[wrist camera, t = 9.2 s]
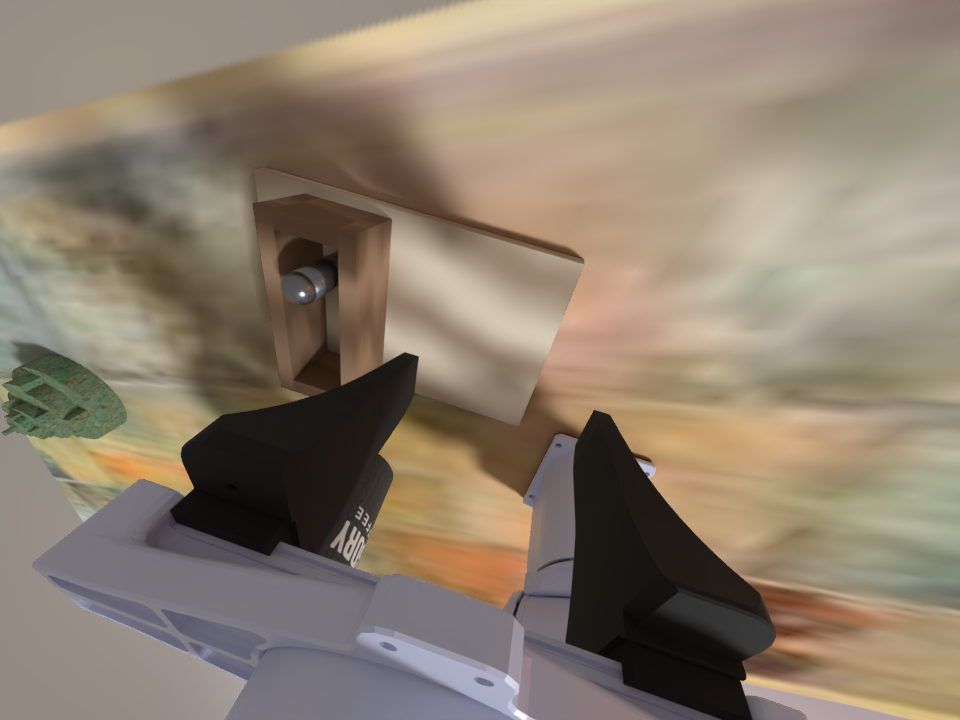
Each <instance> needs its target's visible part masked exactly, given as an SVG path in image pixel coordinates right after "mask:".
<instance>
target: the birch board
mask: <svg viewBox="0 0 960 720" xmlns="http://www.w3.org/2000/svg"><path fill="white" fill-rule="evenodd" d="M253 172H254V179H255V186H256V192H257V199H258V202H262V201H267V200H272V199H278V198H283V197H288V196H294V195H299V194H304V193H305V194H309V195H312V196H315V197H319V198H322V199H326V200H329V201H333V202H336V203H339V204H343V205H346V206H350V207H353V208H357V209H360V210H363V211H367V212H370V213H374V214H377V215H381V216H384V217H388V218H391V219H392V230H391V245H390V261H389V276H388V291H387V306H386V322H385V337H384V352H383V364H385V363H386V362H388V361H390V360H392V359H393V358H395V357H397V356H399V355H400V354H402V353H404V352H406V353H409V354H413V355H416V356H419V360H418V368H417V376H416V384H415V392H414V393H416V394H419V395H422V396H425V397H428V398H432V399H435V400H438V401H441V402H444V403H447V404H450V405H453V406H456V407H459V408H462V409H465V410H468V411H472V412H475V413H478V414H481V415H484V416H487V417H490V418H493V419H496V420H499V421H502V422H505V423H508V424H512V425H515V426H518V427H519V425H520V422H521V420H522V417H523V415H524V412H525V410H526V407H527V405H528V402H529V400H530V398H531V395H532V393H533V390H534V388H535V385H536V383H537V380H538V378H539V375H540V373H541V370H542V368H543V365H544V363H545V361H546V358H547V356H548V353H549V351H550V348H551V346H552V343H553V341H554V338H555V336H556V333H557V331H558V329H559V326H560V324H561V321H562V319H563V316H564V314H565V311H566V309H567V306H568V304H569V301H570V299H571V297H572V294H573V292H574V289H575V287H576V284H577V282H578V279H579V277H580V274H581V272H582V269H583V267H584V259H581V258H577V257H574V256H570V255H567V254H563V253H560V252H557V251H553V250H550V249H546V248H543V247H539V246H536V245H532V244H529V243H525V242H522V241H519V240H515V239H512V238H508V237H505V236H501V235H498V234H494V233H491V232H488V231H484V230H481V229H477V228H474V227H470V226H467V225H463V224H460V223H456V222H453V221H450V220H446V219H443V218H439V217H436V216H432V215H429V214H425V213H422V212H419V211H415V210H412V209H408V208H405V207H401V206H398V205H394V204H391V203H388V202H384V201H381V200H377V199H374V198H370V197H367V196H363V195H360V194H356V193H353V192H350V191H346V190H343V189H339V188H336V187H332V186H329V185H325V184H322V183H319V182H315V181H312V180H308V179H305V178H301V177H298V176H294V175H291V174H287V173H284V172H281V171H277V170H274V169H270V168H267V167H261V168H253ZM337 250H338V249H337V248H334V247H331V246H327V245H324V244H323V257H324V256H327V255H329V254H331V253H333V252H335V251H337ZM325 302H326V322H327V343H328V351H332V352H335V353H338V354H340V322H339V286H338V287H337V288H335V289H333V290H332V291H330V292H329V293H327V294H325Z"/></svg>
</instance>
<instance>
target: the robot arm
mask: <svg viewBox="0 0 960 720" xmlns="http://www.w3.org/2000/svg"><path fill="white" fill-rule="evenodd" d="M418 360H419V356H416V355H413V354H409V353H406V352H404V353H402V354H400V355H399V356H397V357H395V358H393V359H392V360H390V361H388V362H386V363H385V364H383V365H381V366H379V367H378V368H376V369H374V370H372V371H370V372H368V373H367V374H365V375H363V376H361V377H359V378H357V379H354V380H352V381H350V382H348V383H346V384H344V385H341V386H339V387H337V388H334V389H331V390H329V391H326V392H323V393H321V394H318V395H314V396H311V397H308V398H304V399H301V400H298V401H294V402H291V403H287V404H283V405H278V406H274V407H269V408H264V409H259V410H253V411H247V412H240V413H234V414H227V415H222V416H221V417H219V418H218V419H216V420H215V421H214V422H212V423H211V424H210V425H209V426H207V427H206V428H205V429H203V430H202V431H201V432H200V433H198V434H197V435H196V436H194V437H193V438H192V439H191V440H189V441H188V442H187V443H186V444H185V445H184V446H183V447H182V450H181V458H182V462H183V465H184V467H185V469H186V471H187V473H188V475H189V478H190V480H191V482H192V484H193V486H194V489H193V490H192V491H191V492H190V493H189V494H188V495H187V496H185V497H184V496H183V495H181V494H180V493H179V492H177V491H175V490H173V489H170V488H168V487H165V486H162V485H159V484H156V483H153V482H151V481H148V480H145V479H139V480H138V481H137V482H135V483H134V484H133V485H131V486H130V487H129V488H128V489H126V490H125V491H124V492H122V493H121V494H120V495H119V496H117V497H116V498H115V499H113V500H112V501H111V502H110V503H108V504H107V505H106V506H104V507H103V508H102V509H101V510H99V511H98V512H97V513H95V514H94V515H93V516H92V517H90V518H89V519H88V520H86V521H85V522H84V523H83V524H81V525H80V526H79V527H77V528H76V529H75V530H74V531H72V532H71V533H70V534H68V535H67V536H66V537H65V538H63V539H62V540H61V541H59V542H58V543H57V544H56V545H54V546H53V547H52V548H50V549H49V550H48V551H47V552H45V553H44V554H43V555H41V556H40V557H39V558H38V559H36V560H35V561H34V562H33V564H32V567H33V568H34V569H35V570H37V571H38V572H39V573H40V574H41V575H43V576H44V577H45V578H46V579H47V580H48V581H49V582H51V583H52V584H53V585H54V586H55V587H57V588H58V589H59V590H60V591H61V592H63V593H64V594H65V595H66V596H67V597H68V598H69V599H71V600H72V601H73V602H74V603H76V604H77V605H78V606H79V607H81V608H83V609H85V610H87V611H90V612H92V613H95V614H97V615H100V616H102V617H105V618H107V619H110V620H112V621H115V622H117V623H119V624H122V625H124V626H126V627H129V628H131V629H133V630H136V631H138V632H140V633H143V634H145V635H147V636H149V637H151V638H153V639H156V640H158V641H160V642H162V643H164V644H167V645H169V646H171V647H173V648H175V649H177V650H180V651H182V652H184V653H186V654H189V655H190V656H193V657H195V658H197V659H199V660H201V661H203V662H205V663H208V664H210V665H212V666H214V667H216V668H218V669H221V670H223V671H225V672H227V673H229V674H231V675H233V676H235V677H238V678H240V679H242V680H244V681H246V682H247V683H246V685H245V686H244V688H243V690H242V691H241V693H240V695H239V696H238V698H237V700H236V702H235V703H234V705H233V706H232V708H231V710H230V711H229V713H228V715H227V716H226V718H225V720H807V717H806V715H805V714H803V713H802V712H801V711H799V710H796V709H793V708H790V707H787V706H784V705H781V704H779V703H776V702H773V701H770V700H767V699H765V698H761V697H757V696H745V694H744V691H743V688H742V685H741V681H744V680H746V673H745V670H744V667H743V664H742V661H743V660H745V659H747V658H750V657H752V656H754V655H756V654H758V653H760V652H762V651H764V650H766V649H767V648H769V647H770V646H771V645H772V644H773V642H774V640H775V638H776V632H775V628H774V626H773V624H772V621H771V619H770V617H769V614H768V612H767V609H766V607H765V605H764V602H763V600H762V598H761V596H760V594H759V592H757V591H756V590H755V589H754V588H753V587H752V586H750V585H749V584H748V583H747V582H746V581H745V580H744V579H742V578H741V577H740V576H739V575H738V574H737V573H735V572H734V571H733V570H732V569H731V568H730V567H729V566H727V565H726V564H725V563H724V562H723V561H722V560H721V559H720V558H719V557H718V556H717V555H716V554H715V553H714V552H713V551H711V550H710V549H709V548H708V547H707V546H706V545H705V544H704V543H703V542H702V541H701V540H700V539H699V538H698V537H697V536H696V535H695V534H694V533H693V531H692V530H691V529H690V528H689V527H688V526H687V525H686V524H685V523H684V522H683V521H682V519H681V518H680V517H679V516H678V515H677V514H676V513H675V511H674V510H673V509H672V508H671V507H670V506H669V504H668V503H667V502H666V501H665V499H664V498H663V497H662V496H661V494H660V493H659V492H658V491H657V489H656V488H655V486H654V485H653V484H652V482H651V481H650V480H649V479H650V478H651V477H652V476H653V474H654V473H655V472H656V467H655V465H654V464H653V463H650V462H647V461H644V460H641V459H638V458H635V457H634V455H633V454H632V452H631V450H630V449H629V447H628V445H627V444H626V442H625V440H624V439H623V437H622V435H621V433H620V432H619V430H618V428H617V426H616V425H615V423H614V421H613V419H612V418H611V416H610V415H609V414H606V413H603V412H599V411H596V410H594V411H593V413H592V415H591V417H590V419H589V420H588V422H587V424H586V426H585V428H584V430H583V431H582V433H581V435H580V437H579V439H576V438H573V437H570V436H567V435H564V434H557V435H555V437H554V439H553V441H552V443H551V445H550V447H549V449H548V451H547V452H546V454H545V456H544V458H543V460H542V462H541V464H540V466H539V468H538V470H537V472H536V474H535V476H534V478H533V480H532V482H531V484H530V486H529V488H528V490H527V492H526V494H525V496H524V498H523V503H524V504H525V505H527V506H530V507H533V512H532V522H531V531H530V541H529V551H528V561H527V573H526V575H525V584H524V591H521V590H518V591H515V592H514V593H513V594H512V595H511V597H510V598H509V600H508V602H507V604H506V605H505V606H504V608H503V609H501V608H499V607H497V606H494V605H491V604H488V603H485V602H482V601H480V600H477V599H474V598H471V597H468V596H466V595H463V594H460V593H457V592H454V591H451V590H449V589H446V588H443V587H440V586H437V585H434V584H432V583H429V582H426V581H423V580H420V579H418V578H414V577H410V576H405V575H401V574H394V575H386V576H383V577H378V576H376V575H373V574H370V573H367V572H364V571H362V570H359V569H356V568H353V567H350V566H348V565H345V564H342V563H339V562H336V561H334V560H331V559H328V558H325V555H326V553H327V551H328V549H329V547H330V545H331V542H332V540H333V538H334V536H335V534H336V532H337V530H338V528H339V526H340V524H341V522H342V520H343V518H344V516H345V513H346V511H347V509H348V507H349V505H350V504H351V502H352V500H353V498H354V496H355V494H356V492H357V490H358V488H359V486H360V484H361V482H362V480H363V479H364V477H365V475H366V473H367V471H368V469H369V467H370V465H371V464H372V462H373V461H374V459H375V457H376V456H377V454H378V453H379V451H380V450H381V448H382V447H383V445H384V444H385V443H386V441H387V440H388V438H389V437H390V435H391V434H392V432H393V431H394V429H395V428H396V426H397V425H398V423H399V422H400V420H401V419H402V417H403V416H404V414H405V412H406V410H407V408H408V406H409V404H410V402H411V400H412V398H413V396H414V392H415V384H416V376H417V368H418ZM557 443H559V444H560V445H558V444H557ZM645 472H646V473H645ZM740 680H741V681H740Z"/></svg>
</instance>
